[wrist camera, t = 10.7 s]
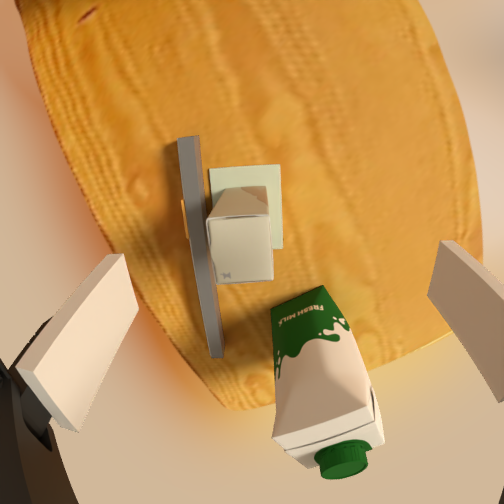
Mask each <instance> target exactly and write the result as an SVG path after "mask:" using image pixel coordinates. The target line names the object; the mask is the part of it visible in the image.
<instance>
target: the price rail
mask: <svg viewBox="0 0 504 504" xmlns="http://www.w3.org/2000/svg"><path fill="white" fill-rule="evenodd" d="M177 144H178V154H179V163H180V172H181V181H182V189H183V197H184V198H183V199H182V200H181V205H182V212H183V219H184V226H185V233H186V239H189V240H190V247H191V253H192V259H193V266H194V272H195V278H196V283H197V289H198V295H199V300H200V306H201V311H202V316H203V322H204V327H205V332H206V337H207V342H208V347H209V351H210V356H211V358H223V357H224V350H225V341H224V335H223V329H222V322H221V316H220V309H219V302H218V295H217V288H216V283H215V278H214V273H213V267H212V261H211V256H210V249H209V243H208V236H207V228H206V219H207V210H206V201H205V192H204V182H203V173H202V163H201V152H200V141H199V135H198V136H190V137H182V138H177Z"/></svg>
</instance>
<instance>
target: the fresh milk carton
mask: <svg viewBox="0 0 504 504" xmlns="http://www.w3.org/2000/svg"><path fill="white" fill-rule="evenodd" d="M271 322H272V337H273V355H274V375H275V397H276V417H275V423H274V428H273V434H272V439H273V440H274V441H275V442H277V443H278V444H279V445H280V446H281V447H282V448H284V451H285V452H286V453H287V454H288V455H290V456H292V457H293V458H294V459H296V460H297V461H298V462H300V463H301V464H302V465H304V466H305V467H306V468H313V467H316V466H319V465H320V472H321V476H322V477H323V478H325V479H342V478H346V477H350V476H353V475H356V474H358V473H360V472H362V471H363V470H364V469H366V467H367V466H368V462H367V457H366V453H365V452H366V451H369V450H372V448H374V447H377V446H379V445H382V444H384V443H385V440H384V433H383V426H382V420H381V415H380V411H379V407H378V403H377V399H376V396H375V393H374V390H373V388H372V385H371V382H370V380H369V376H368V374H367V371H366V368H365V365H364V363H363V360H362V357H361V355H360V352H359V349H358V347H357V344H356V341H355V339H354V336H353V334H352V331H351V329H350V327H349V325H348V323H347V321H346V320H345V318H344V316H343V315H342V313H341V311H340V310H339V308H338V307H337V305H336V304H335V302H334V301H333V300H332V298H331V296H330V295H329V293H328V292H327V290H326V289H325V287H324V286H323V285H322V286H320V287H318V288H316V289H314V290H312V291H310V292H307V293H305V294H303V295H301V296H299V297H297V298H294V299H292V300H290V301H288V302H286V303H283V304H281V305H279V306H277V307H275V308H272V309H271Z"/></svg>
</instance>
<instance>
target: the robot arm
mask: <svg viewBox="0 0 504 504" xmlns="http://www.w3.org/2000/svg"><path fill="white" fill-rule="evenodd" d="M427 296H428V298H429V299H430V300H431V302H432V303H433V304H434V306H435V307H436V308H437V310H438V311H439V312H440V314H441V315H442V316H443V318H444V319H445V320H446V322H447V323H448V325H449V326H450V327H451V329H452V330H453V332H454V333H455V335H456V336H457V337H458V339H459V340H460V342H461V343H462V345H463V346H464V348H465V349H466V351H467V352H468V354H469V355H470V357H471V358H472V360H473V361H474V363H475V364H476V366H477V368H478V369H479V370H480V373H481V374H482V376H483V377H484V379H485V381H486V382H487V384H488V386H489V387H490V389H491V391H492V393H493V394H494V396H495V398H496V400H497V401H498V403H500V402H502V401H504V284H503V283H501V282H500V281H499V280H498V279H497V278H496V277H495V276H494V275H493V274H492V273H491V272H490V271H488V270H487V269H486V268H485V267H484V266H483V265H482V264H481V263H479V262H478V261H477V260H476V259H475V258H474V257H472V256H471V255H470V254H469V253H468V252H467V251H465V250H464V249H463V248H462V247H460V246H459V245H458V244H457V243H456V242H454V241H453V240H448V241H440V243H439V248H438V252H437V257H436V262H435V266H434V270H433V274H432V278H431V282H430V286H429V290H428V294H427ZM138 310H139V308H138V304H137V301H136V298H135V294H134V291H133V287H132V284H131V280H130V277H129V273H128V269H127V265H126V261H125V257H124V253H122V254H108V255H107V256H106V257H105V258H104V259H103V260H102V261H101V262H100V263H99V264H98V265H97V266H96V268H95V269H94V270H93V271H92V272H91V273H90V274H89V275H88V276H87V277H86V279H85V280H84V281H83V282H82V283H81V284H80V285H79V286H78V288H77V289H76V290H75V291H74V292H73V293H72V295H71V296H70V297H69V298H68V299H67V300H66V302H65V303H64V304H63V305H62V306H61V308H60V309H59V310H58V311H57V312H56V314H55V315H54V316H53V317H51V318H50V319H48V320H47V321H46V322H44V323H43V324H42V325H41V327H40V328H39V329H38V330H37V332H36V333H35V335H34V336H33V337H32V338H31V339H30V341H29V343H27V345H26V346H25V347H24V349H23V350H22V351H21V353H20V354H19V355H18V357H17V358H16V359H15V361H14V362H13V364H12V365H11V366H10V368H9V369H8V370H7V368H6V366H5V365H4V363H3V362H2V360H1V359H0V504H79V503H78V501H77V499H76V496H75V494H74V492H73V489H72V487H71V484H70V481H69V479H68V476H67V473H66V471H65V468H64V465H63V462H62V459H61V456H60V453H59V450H58V446H57V443H56V439H55V435H54V432H53V429H52V427H51V426H50V424H49V421H50V419H51V417H53V418H54V419H55V421H56V422H57V423H58V424H59V425H60V427H62V428H65V429H68V430H72V431H75V432H78V433H79V432H80V430H81V427H82V425H83V423H84V420H85V418H86V416H87V413H88V411H89V408H90V407H91V404H92V402H93V400H94V398H95V396H96V393H97V391H98V389H99V387H100V385H101V383H102V381H103V379H104V376H105V374H106V372H107V370H108V368H109V366H110V364H111V362H112V360H113V358H114V356H115V354H116V352H117V350H118V348H119V346H120V344H121V342H122V340H123V338H124V336H125V334H126V332H127V330H128V329H129V326H130V325H131V323H132V321H133V319H134V317H135V316H136V313H137V312H138ZM499 504H504V488H503V491H502V495H501V498H500V501H499Z"/></svg>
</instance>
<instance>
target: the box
mask: <svg viewBox="0 0 504 504" xmlns="http://www.w3.org/2000/svg"><path fill="white" fill-rule="evenodd" d="M206 228H207V236H208V243H209V249H210V256H211V261H212V267H213V273H214V278H215V283H216V284H217V285H219V284H238V283H251V282H263V281H272V280H273V278H274V272H273V248H272V235H271V223H270V215H269V206H268V197H267V189H266V186H246V187H234V188H226V189H225V190H224V192H223V193H222V195H221V197H220V198H219V200H218V201H217V203H216V205H215V206H214V208H213V210H212V211H211V213H210V214H209V216H208V218H207V219H206Z"/></svg>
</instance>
